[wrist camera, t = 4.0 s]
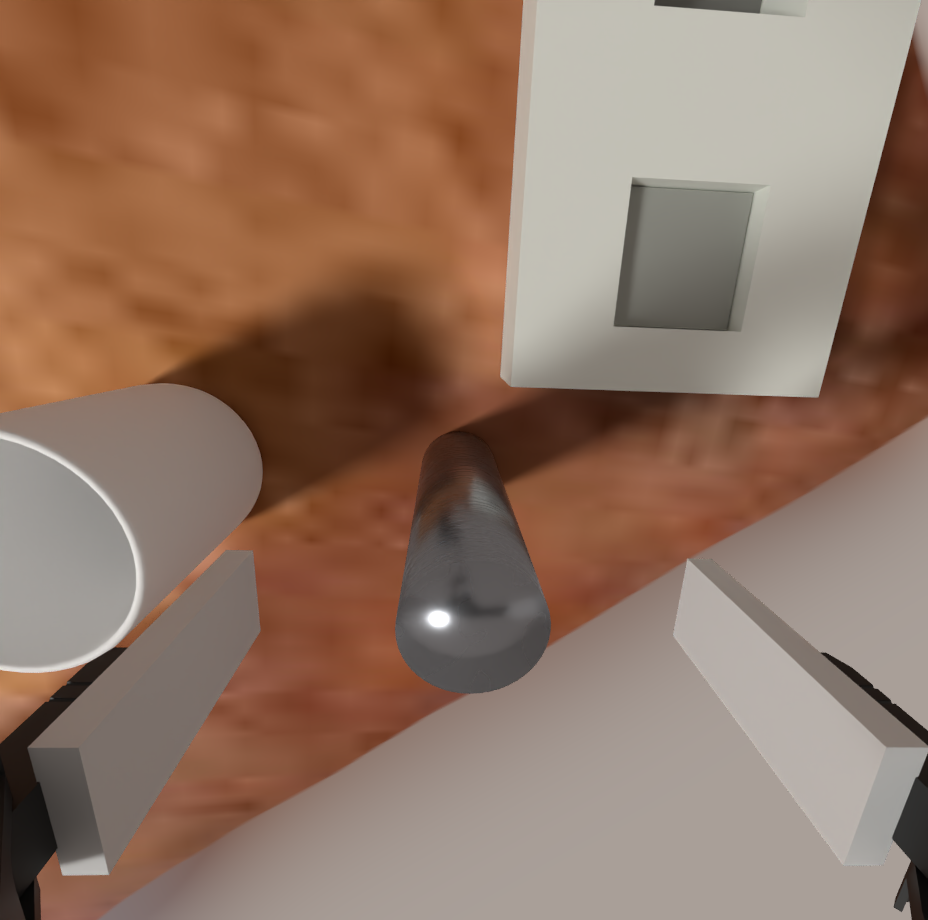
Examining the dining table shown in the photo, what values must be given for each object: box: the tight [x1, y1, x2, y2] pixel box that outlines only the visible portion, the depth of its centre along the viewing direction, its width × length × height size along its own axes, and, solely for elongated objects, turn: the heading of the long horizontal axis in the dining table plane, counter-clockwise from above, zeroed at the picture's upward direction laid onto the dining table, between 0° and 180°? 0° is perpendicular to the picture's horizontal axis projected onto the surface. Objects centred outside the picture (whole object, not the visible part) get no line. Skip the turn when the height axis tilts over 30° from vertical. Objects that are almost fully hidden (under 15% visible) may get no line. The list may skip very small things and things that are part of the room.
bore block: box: [500, 0, 921, 397], centre depth 19 cm, size 22×14×4 cm, turn 178°
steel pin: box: [395, 432, 551, 694], centre depth 18 cm, size 4×4×14 cm
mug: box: [0, 383, 263, 673], centre depth 20 cm, size 9×12×11 cm
